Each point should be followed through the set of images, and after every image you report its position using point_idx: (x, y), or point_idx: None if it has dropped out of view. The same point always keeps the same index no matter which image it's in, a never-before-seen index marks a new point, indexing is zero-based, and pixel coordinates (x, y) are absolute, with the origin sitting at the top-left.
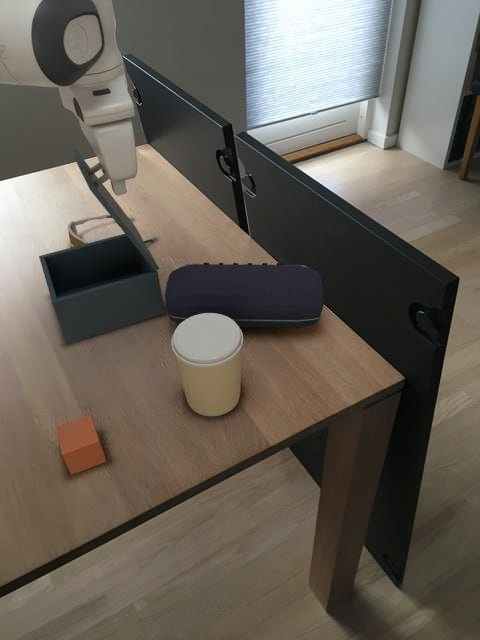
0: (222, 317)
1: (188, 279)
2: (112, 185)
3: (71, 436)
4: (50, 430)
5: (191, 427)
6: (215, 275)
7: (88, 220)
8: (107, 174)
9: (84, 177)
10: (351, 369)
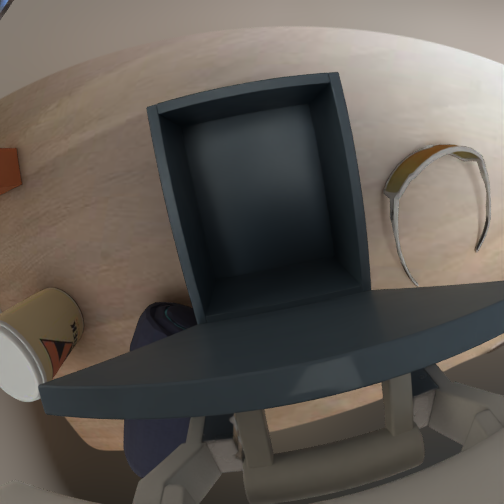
0: (34, 393)
1: None
2: (194, 438)
3: None
4: (37, 126)
5: (25, 284)
6: None
7: (485, 185)
8: (39, 498)
9: (177, 386)
10: (97, 431)
